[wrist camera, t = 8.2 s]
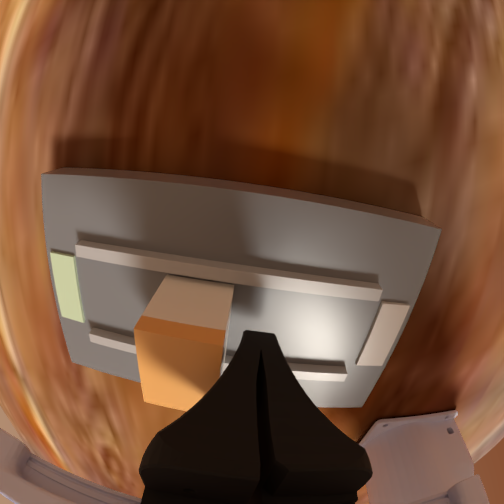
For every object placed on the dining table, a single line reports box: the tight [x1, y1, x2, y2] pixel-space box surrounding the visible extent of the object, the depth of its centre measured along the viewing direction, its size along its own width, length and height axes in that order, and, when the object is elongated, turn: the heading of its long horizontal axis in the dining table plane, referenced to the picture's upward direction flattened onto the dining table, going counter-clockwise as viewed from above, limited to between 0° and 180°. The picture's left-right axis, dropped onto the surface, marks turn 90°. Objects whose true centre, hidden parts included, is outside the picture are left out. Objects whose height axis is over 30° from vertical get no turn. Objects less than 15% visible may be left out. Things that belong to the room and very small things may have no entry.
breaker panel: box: [41, 167, 442, 407], centre depth 14 cm, size 19×12×3 cm, turn 82°
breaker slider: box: [134, 274, 234, 411], centre depth 12 cm, size 3×4×4 cm
